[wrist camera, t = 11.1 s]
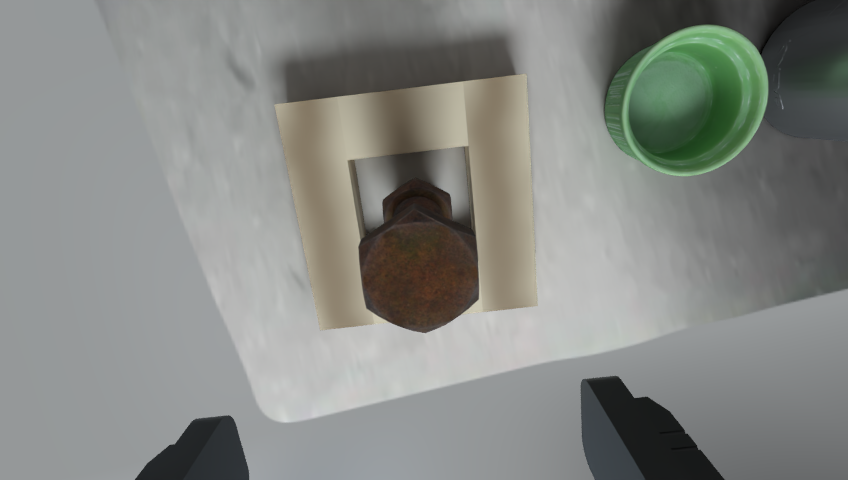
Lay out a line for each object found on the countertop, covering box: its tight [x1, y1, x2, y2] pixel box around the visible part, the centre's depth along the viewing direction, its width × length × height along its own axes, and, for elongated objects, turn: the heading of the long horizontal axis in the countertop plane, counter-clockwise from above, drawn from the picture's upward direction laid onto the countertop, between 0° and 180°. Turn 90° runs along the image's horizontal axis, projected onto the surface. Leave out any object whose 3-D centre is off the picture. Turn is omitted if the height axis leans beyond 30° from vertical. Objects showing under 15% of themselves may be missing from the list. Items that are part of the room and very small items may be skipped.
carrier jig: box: [274, 74, 538, 330], centre depth 32 cm, size 16×16×3 cm
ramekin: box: [605, 25, 768, 176], centre depth 30 cm, size 9×9×4 cm
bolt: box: [358, 178, 479, 333], centre depth 26 cm, size 6×5×15 cm
